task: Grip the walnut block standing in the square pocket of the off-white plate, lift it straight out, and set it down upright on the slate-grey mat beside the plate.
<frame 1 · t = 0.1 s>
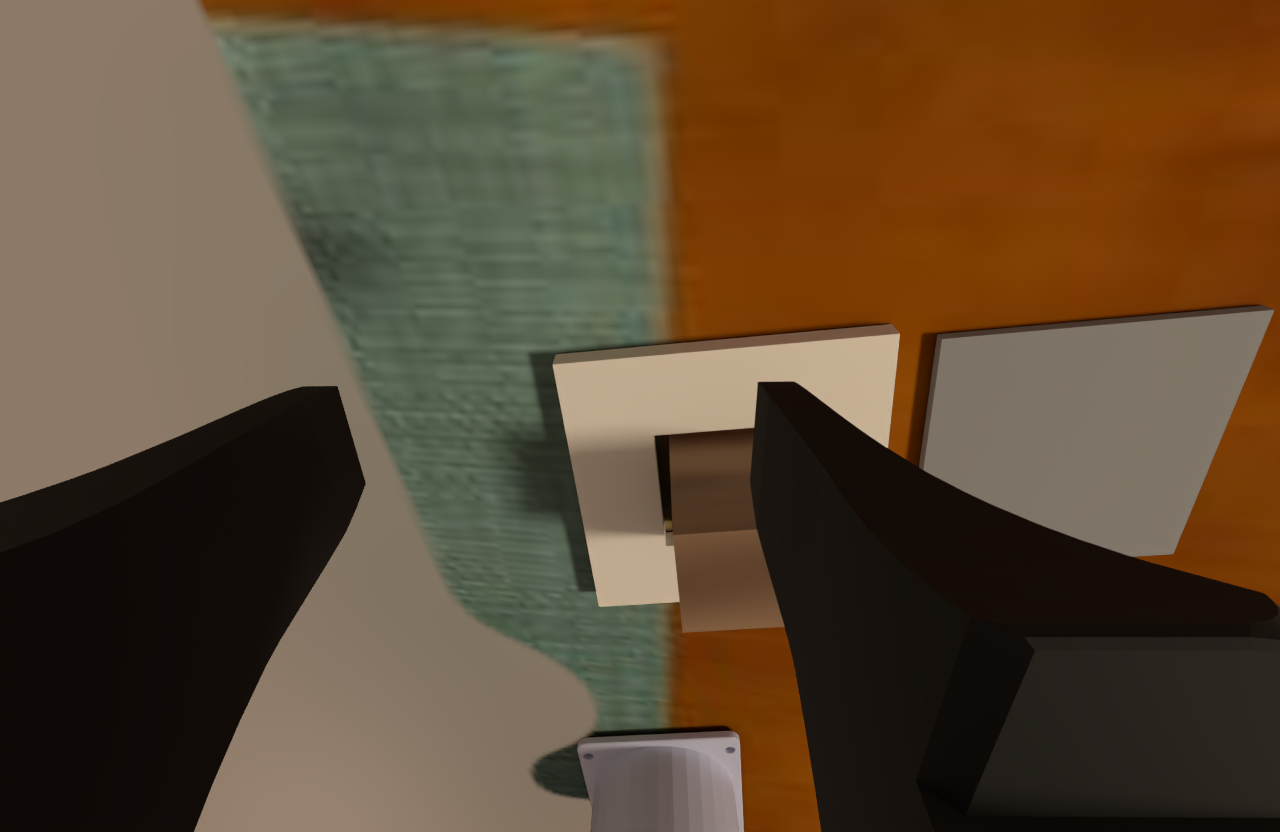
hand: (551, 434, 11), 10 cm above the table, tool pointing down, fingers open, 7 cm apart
mat: (1062, 450, 23), on the table
block: (726, 474, 24), resting in pocket plate
pocket plate: (726, 475, 23), on the table
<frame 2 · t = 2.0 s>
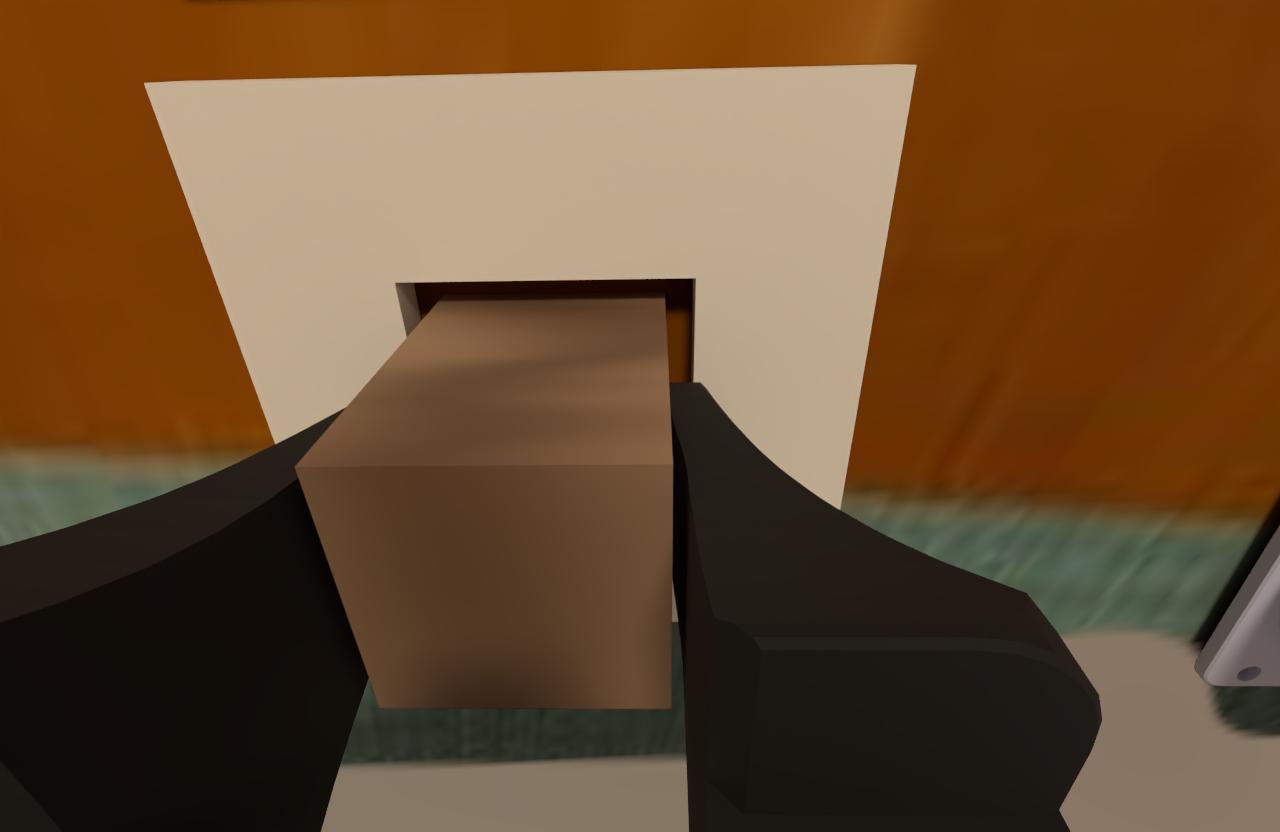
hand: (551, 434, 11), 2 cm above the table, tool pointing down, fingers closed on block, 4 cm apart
block: (562, 391, 12), resting in pocket plate, touching gripper
pocket plate: (562, 392, 12), on the table
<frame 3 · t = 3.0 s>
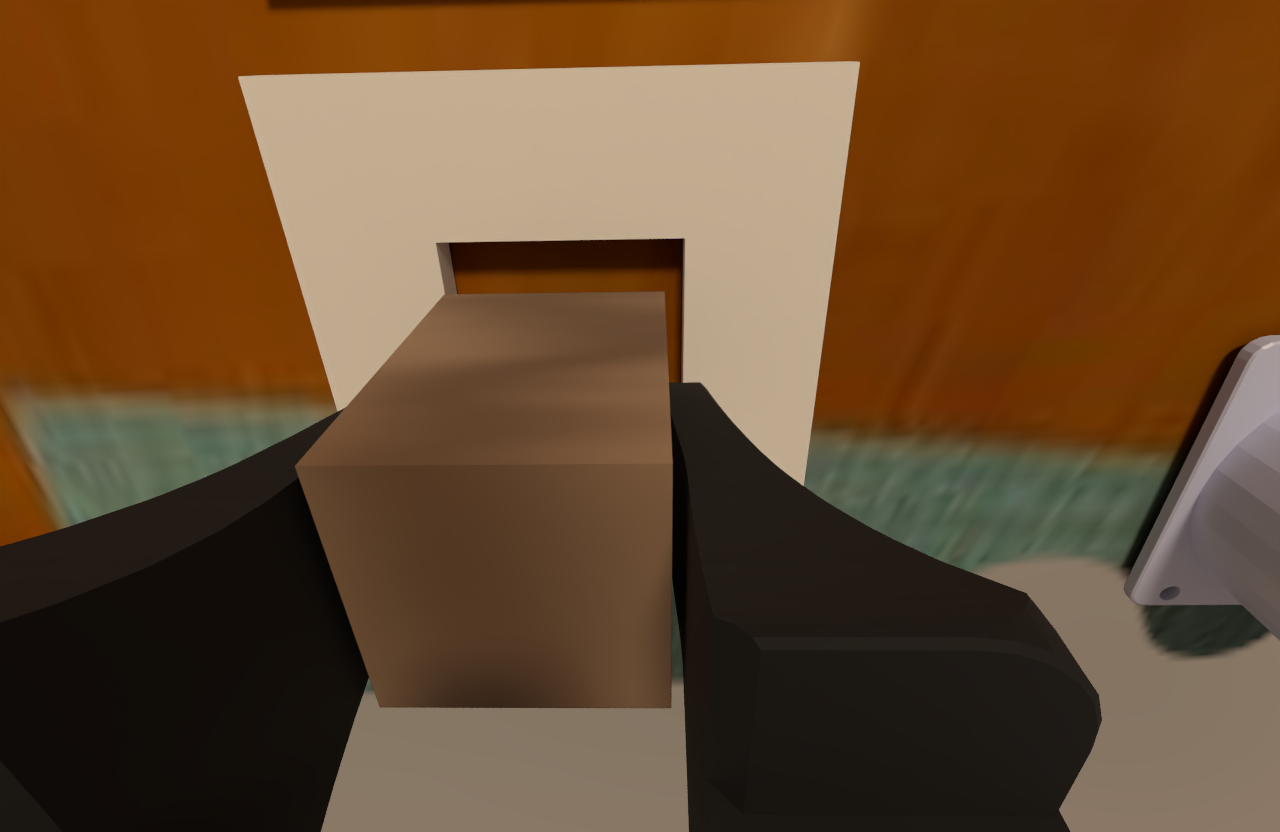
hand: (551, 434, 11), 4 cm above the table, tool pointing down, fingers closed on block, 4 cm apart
block: (562, 391, 12), point 2 cm above the table, touching gripper
pocket plate: (573, 340, 15), on the table
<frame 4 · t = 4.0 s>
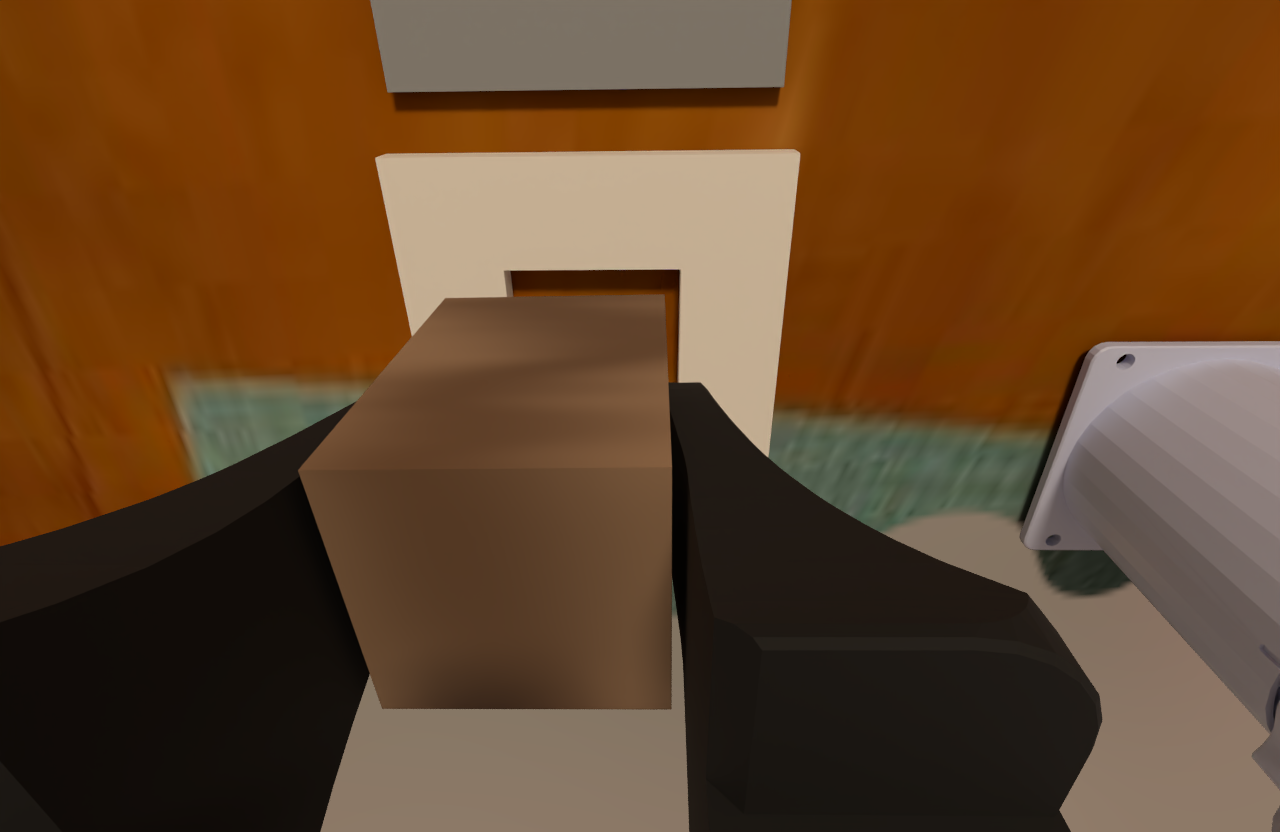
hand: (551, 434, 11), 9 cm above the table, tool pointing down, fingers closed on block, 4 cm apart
block: (563, 393, 12), point 7 cm above the table, touching gripper
pocket plate: (598, 340, 20), on the table
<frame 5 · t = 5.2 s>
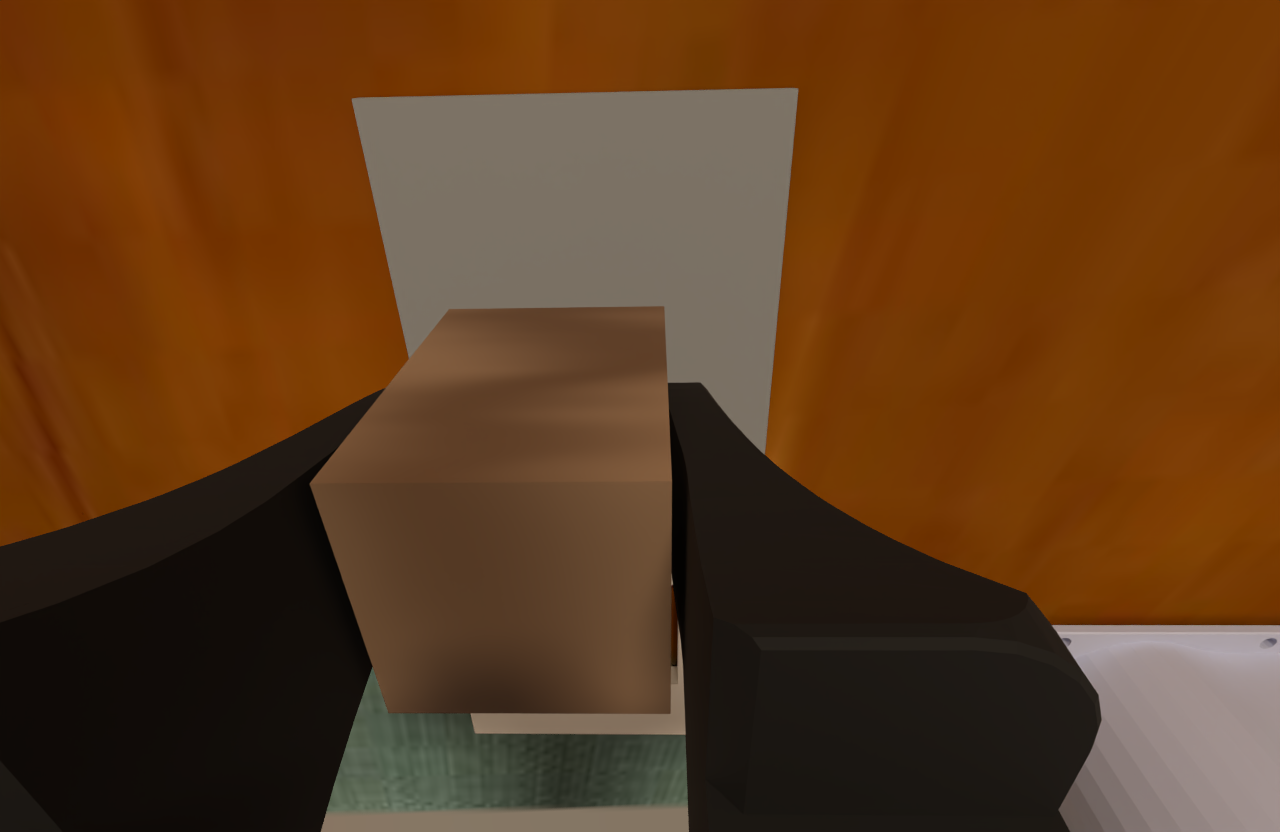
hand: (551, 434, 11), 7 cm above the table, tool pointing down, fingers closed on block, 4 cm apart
mat: (588, 302, 17), on the table
block: (564, 402, 13), point 5 cm above the table, touching gripper
pocket plate: (608, 619, 23), on the table
when the fingers open (3 cm above the table, at t = 6.2 s): block drops 1 cm, resting on mat.
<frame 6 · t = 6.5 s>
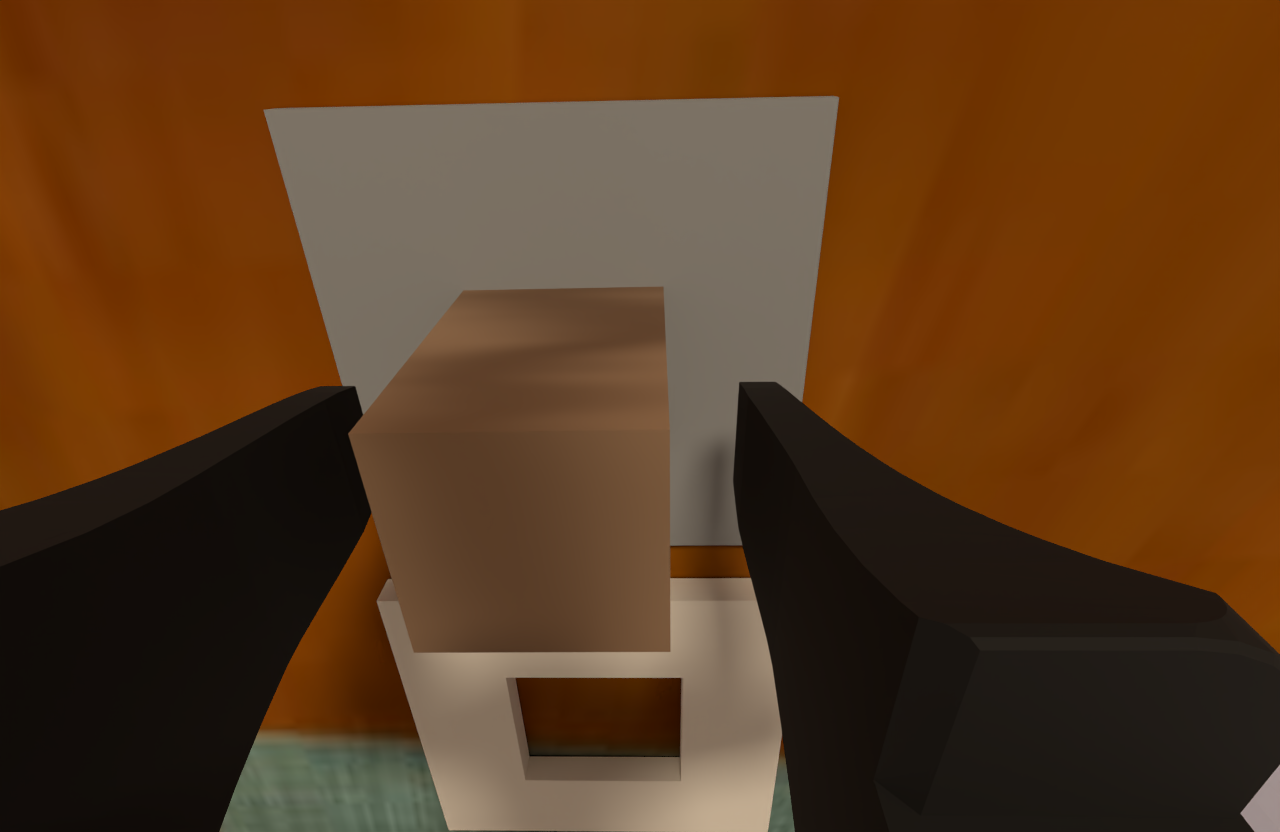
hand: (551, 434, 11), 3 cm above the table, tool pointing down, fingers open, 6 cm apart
mat: (571, 357, 14), on the table
block: (571, 378, 14), resting on mat
pocket plate: (600, 708, 20), on the table
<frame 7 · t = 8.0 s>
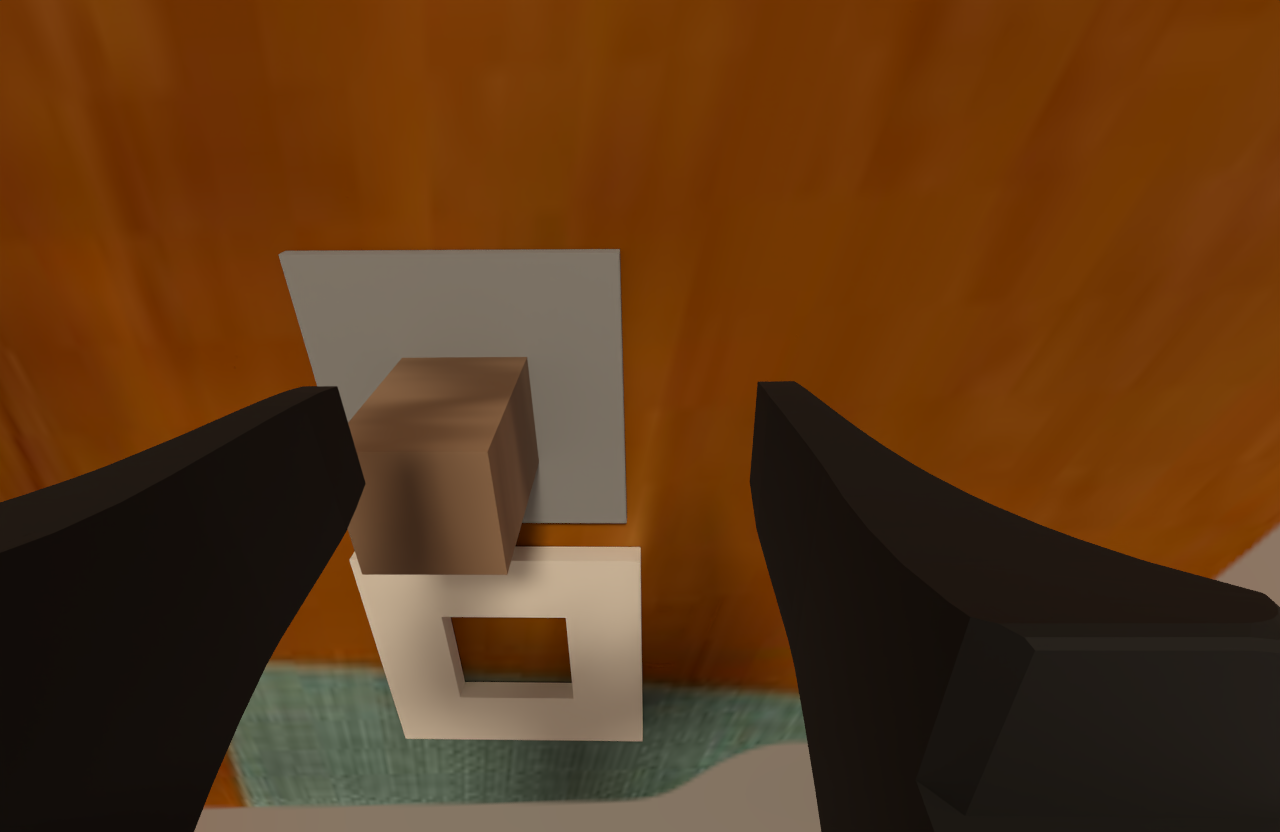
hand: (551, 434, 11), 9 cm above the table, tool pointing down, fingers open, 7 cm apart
mat: (475, 398, 21), on the table
block: (473, 412, 21), resting on mat
pocket plate: (514, 644, 27), on the table
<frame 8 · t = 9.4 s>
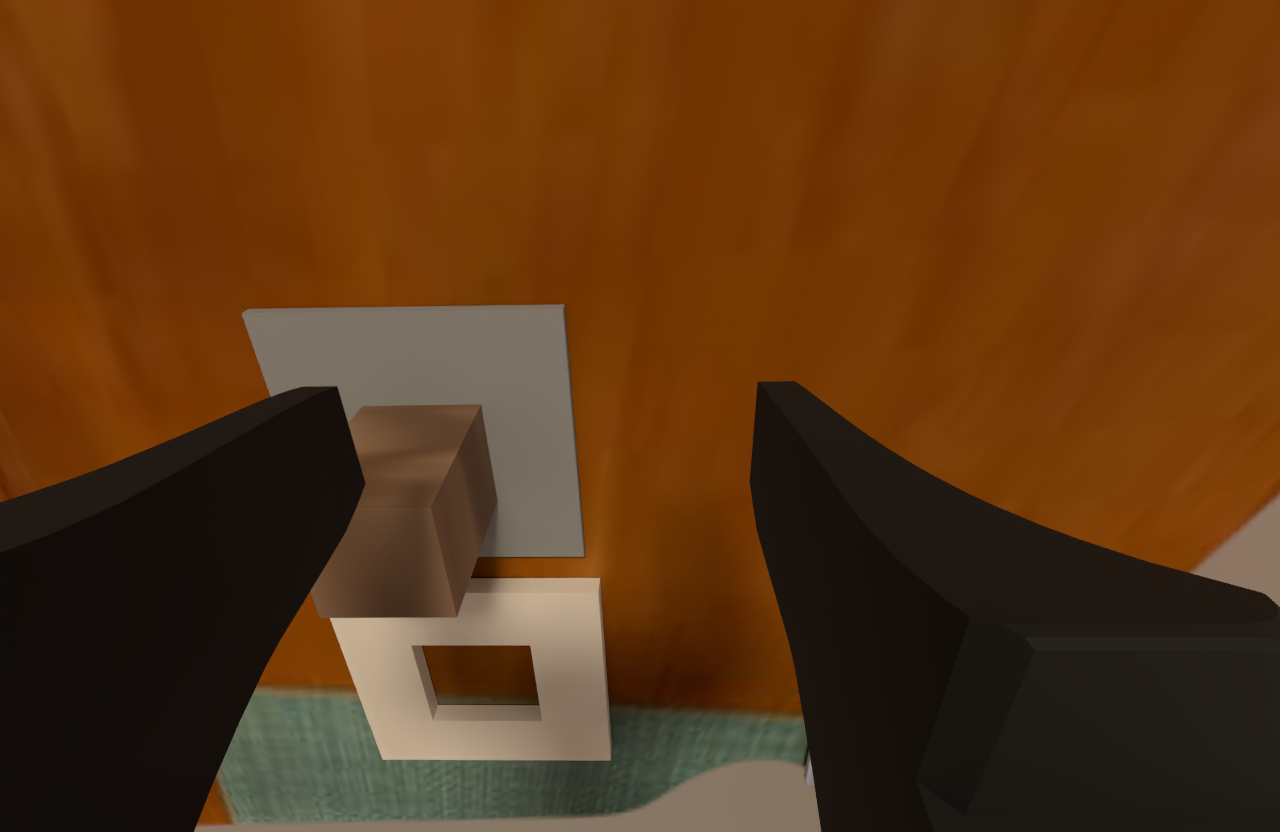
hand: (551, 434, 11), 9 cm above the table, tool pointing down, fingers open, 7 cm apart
mat: (434, 441, 22), on the table
block: (432, 455, 22), resting on mat
pocket plate: (483, 669, 28), on the table
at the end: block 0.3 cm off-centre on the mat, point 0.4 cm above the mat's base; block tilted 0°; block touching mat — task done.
